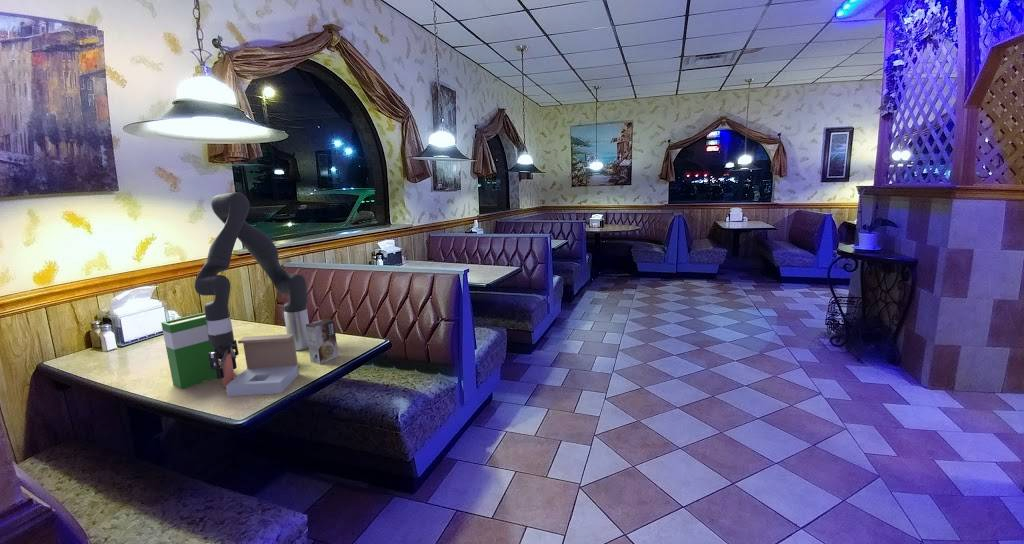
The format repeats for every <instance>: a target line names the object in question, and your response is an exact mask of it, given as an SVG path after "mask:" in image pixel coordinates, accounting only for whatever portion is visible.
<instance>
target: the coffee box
mask: <svg viewBox="0 0 1024 544" xmlns="http://www.w3.org/2000/svg"><path fill="white" fill-rule="evenodd" d="M335 327H336V326H335V320H334V319H329V318H321V319H318V320H315V321H312V322H309V324H306V330H307V338H308V345H309V348H308V351H309V359H310V362H311V363H313V364H317V365H323V364H324V363H327V362H329V361H331V360H334V359H336V358H338V357H339V351H338V343H337V336H336V328H335Z"/></svg>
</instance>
